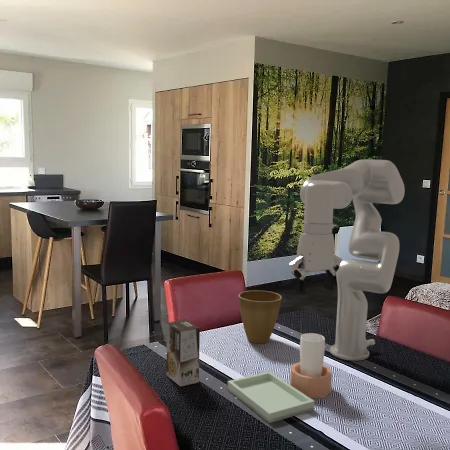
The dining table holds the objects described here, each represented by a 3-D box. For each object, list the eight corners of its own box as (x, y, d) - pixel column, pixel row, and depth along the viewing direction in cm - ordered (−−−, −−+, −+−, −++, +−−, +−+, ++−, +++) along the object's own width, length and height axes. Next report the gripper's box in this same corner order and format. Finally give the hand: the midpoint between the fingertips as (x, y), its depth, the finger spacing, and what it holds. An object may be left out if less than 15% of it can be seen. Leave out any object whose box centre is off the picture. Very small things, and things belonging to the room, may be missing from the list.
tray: (269, 379, 149) (269, 371, 149) (313, 410, 132) (314, 400, 132) (227, 389, 142) (227, 381, 142) (268, 423, 125) (269, 413, 125)
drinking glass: (322, 395, 140) (325, 342, 138) (297, 392, 142) (299, 340, 139) (322, 384, 147) (325, 334, 145) (298, 382, 148) (301, 331, 146)
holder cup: (312, 377, 152) (313, 359, 151) (338, 392, 142) (339, 373, 141) (282, 384, 146) (283, 366, 145) (307, 401, 137) (308, 381, 136)
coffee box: (199, 382, 146) (200, 327, 144) (179, 387, 143) (180, 331, 141) (185, 370, 154) (185, 318, 152) (165, 375, 151) (165, 321, 148)
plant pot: (281, 348, 173) (283, 302, 171) (237, 347, 173) (239, 301, 171) (277, 332, 188) (279, 290, 186) (237, 331, 188) (238, 289, 186)
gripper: (333, 225, 145) (329, 284, 148) (283, 228, 137) (280, 291, 139) (351, 229, 139) (348, 290, 141) (300, 232, 130) (297, 298, 133)
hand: (314, 291), depth 140 cm, fingers open, 9 cm apart
